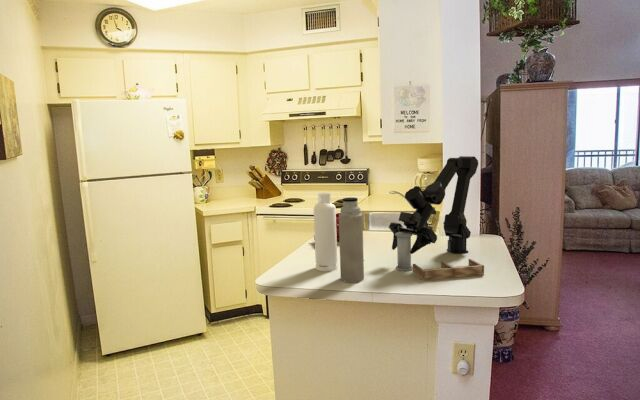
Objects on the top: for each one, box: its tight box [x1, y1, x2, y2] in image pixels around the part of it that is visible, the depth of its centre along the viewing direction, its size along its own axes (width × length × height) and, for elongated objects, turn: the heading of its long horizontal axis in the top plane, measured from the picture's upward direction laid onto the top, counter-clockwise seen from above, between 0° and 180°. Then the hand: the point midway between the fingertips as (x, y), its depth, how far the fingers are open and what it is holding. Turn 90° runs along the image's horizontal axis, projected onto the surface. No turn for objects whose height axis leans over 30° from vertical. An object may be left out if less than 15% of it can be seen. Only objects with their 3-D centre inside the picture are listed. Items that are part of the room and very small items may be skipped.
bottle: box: [313, 192, 338, 272], centre depth 163 cm, size 8×8×28 cm
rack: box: [412, 258, 485, 282], centre depth 153 cm, size 22×9×3 cm, turn 100°
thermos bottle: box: [339, 197, 365, 283], centre depth 150 cm, size 8×8×28 cm
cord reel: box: [395, 232, 413, 272], centre depth 160 cm, size 6×6×13 cm
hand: (401, 251), depth 159 cm, fingers open, 8 cm apart
